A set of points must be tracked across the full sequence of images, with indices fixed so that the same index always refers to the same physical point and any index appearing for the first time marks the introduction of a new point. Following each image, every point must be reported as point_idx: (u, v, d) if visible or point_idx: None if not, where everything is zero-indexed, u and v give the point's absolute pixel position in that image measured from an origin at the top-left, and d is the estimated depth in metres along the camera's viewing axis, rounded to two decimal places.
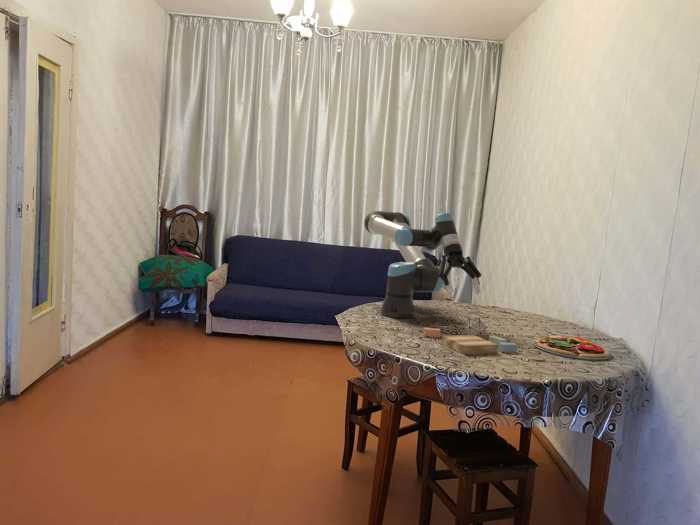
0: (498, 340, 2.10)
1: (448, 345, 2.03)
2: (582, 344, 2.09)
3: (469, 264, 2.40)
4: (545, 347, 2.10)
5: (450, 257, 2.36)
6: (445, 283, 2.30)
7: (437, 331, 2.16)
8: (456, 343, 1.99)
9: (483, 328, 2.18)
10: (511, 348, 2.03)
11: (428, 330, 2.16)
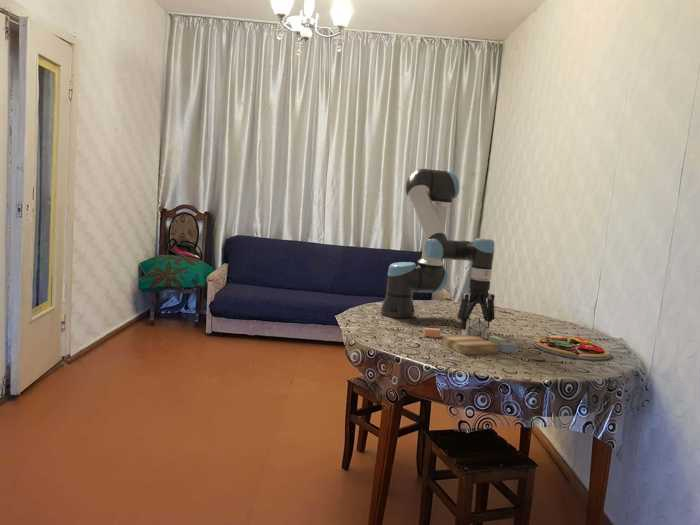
0: (498, 340, 2.10)
1: (448, 345, 2.03)
2: (582, 344, 2.09)
3: (489, 302, 2.21)
4: (545, 347, 2.10)
5: (473, 294, 2.16)
6: (462, 327, 2.17)
7: (437, 331, 2.16)
8: (456, 343, 1.99)
9: (483, 328, 2.18)
10: (511, 348, 2.03)
11: (428, 330, 2.16)
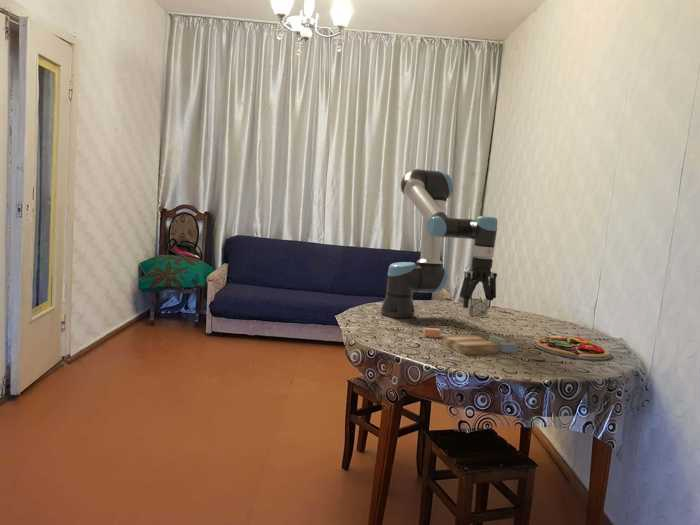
0: (498, 340, 2.10)
1: (448, 345, 2.03)
2: (582, 344, 2.09)
3: (491, 281, 2.20)
4: (545, 347, 2.10)
5: (476, 272, 2.15)
6: (464, 305, 2.17)
7: (437, 331, 2.16)
8: (456, 343, 1.99)
9: (485, 307, 2.18)
10: (511, 347, 2.03)
11: (429, 330, 2.16)
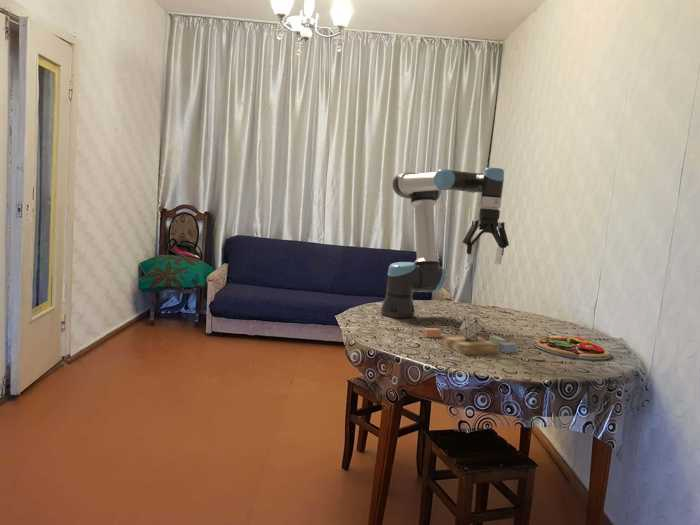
0: (497, 340, 2.10)
1: (448, 345, 2.03)
2: (582, 344, 2.09)
3: (501, 230, 2.24)
4: (545, 347, 2.10)
5: (483, 223, 2.19)
6: (467, 252, 2.19)
7: (438, 331, 2.17)
8: (456, 343, 1.99)
9: (480, 329, 2.01)
10: (511, 347, 2.04)
11: (430, 330, 2.16)
